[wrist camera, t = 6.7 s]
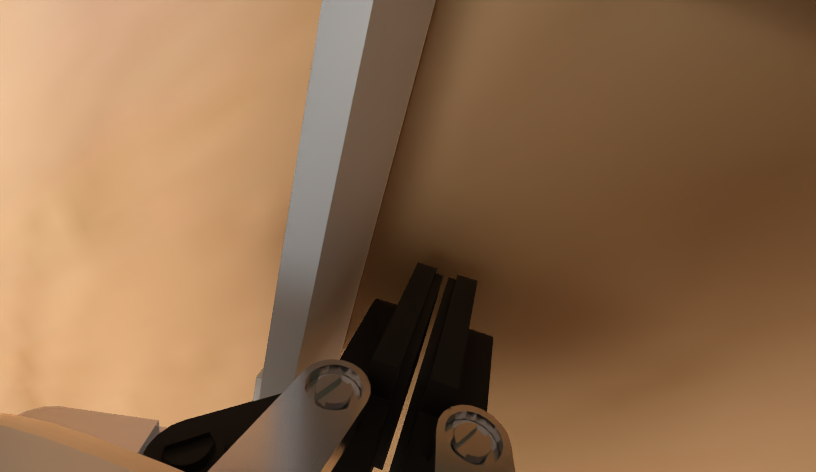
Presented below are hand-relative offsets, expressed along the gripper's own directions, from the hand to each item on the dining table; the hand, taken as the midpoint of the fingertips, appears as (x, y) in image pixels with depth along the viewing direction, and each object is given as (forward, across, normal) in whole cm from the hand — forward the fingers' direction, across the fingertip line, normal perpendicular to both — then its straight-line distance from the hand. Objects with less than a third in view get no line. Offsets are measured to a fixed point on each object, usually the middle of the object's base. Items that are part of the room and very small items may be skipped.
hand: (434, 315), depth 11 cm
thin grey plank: (+1, +3, -3) cm, 4 cm away
